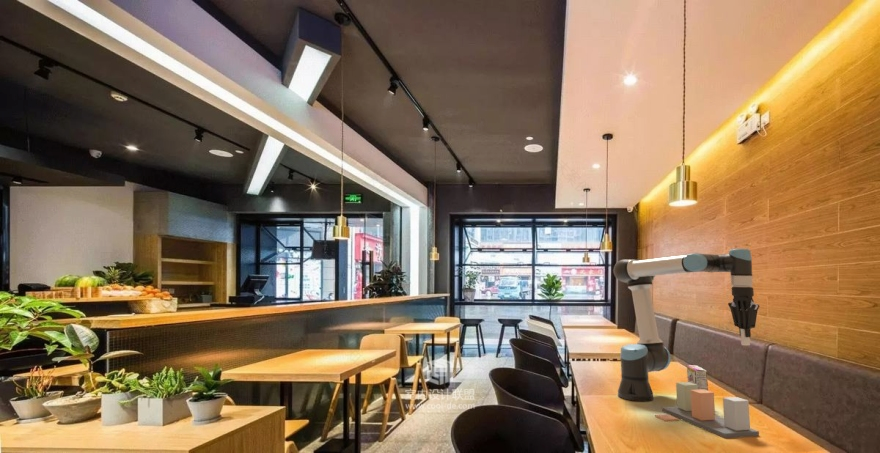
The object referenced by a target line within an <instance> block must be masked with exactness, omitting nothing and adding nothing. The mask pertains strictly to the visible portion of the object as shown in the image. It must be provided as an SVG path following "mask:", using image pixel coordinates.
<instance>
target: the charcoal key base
mask: <svg viewBox="0 0 880 453" xmlns="http://www.w3.org/2000/svg"><path fill="white" fill-rule="evenodd" d="M661 410H662V411H661V412H663V413H664V414H665V413H666V414H668V415H671V416H673V417H675V418H678V419H679V420H681V419H682V421H683V422H686V423H688V422H689V423H688V424H691V425H693V426H695V425H696V427H697V428H701V429H702V428H703V430H704V431H705V430H706V431H707V432H710V433H712V434H715V435H717V436H719V437H722V438H724V439H731V438H733V439H734V438H747V437H759V436H760V431H759V430H756V429H753V428H751V427H750V430H739V431H736V430H733V429H730V428H728V427H725V426H724V417H722V416H719V415H716V414H715V420H703V421H701V420H699V419H697V418H694V417H692V411H685V410H682V409H680V408H677V406H670V407H669V406H667V407H662V408H661Z"/></svg>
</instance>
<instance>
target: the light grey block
mask: <svg viewBox="0 0 880 453" xmlns="http://www.w3.org/2000/svg"><path fill="white" fill-rule="evenodd" d="M722 404H723V405H722V407H723V409H722V410H723V418H724V426H725V427H728V428H730V429H733V430H736V431H739V430H750V428H751V420H750V405H749V404H750V402H749V400H748V399H744V398H741V397H738V396H728V397H722Z"/></svg>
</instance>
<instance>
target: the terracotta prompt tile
mask: <svg viewBox="0 0 880 453" xmlns="http://www.w3.org/2000/svg"><path fill="white" fill-rule="evenodd" d="M654 417H655V418H657V419H659V420H661V421H664V422H676V421H678V422H679V420H680V419H679V418H677V417H674V416H672V415H670V414H667V413H666V414H655V415H654Z"/></svg>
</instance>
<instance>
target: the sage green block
mask: <svg viewBox="0 0 880 453" xmlns="http://www.w3.org/2000/svg"><path fill="white" fill-rule="evenodd" d="M675 386H676V390H675V391H676V407H677V408H680V409H682V410H685V411H692V409H691V390H698V385H696V384H693V383H690V382H688V381H685V382H684V381H682V382H675Z"/></svg>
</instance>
